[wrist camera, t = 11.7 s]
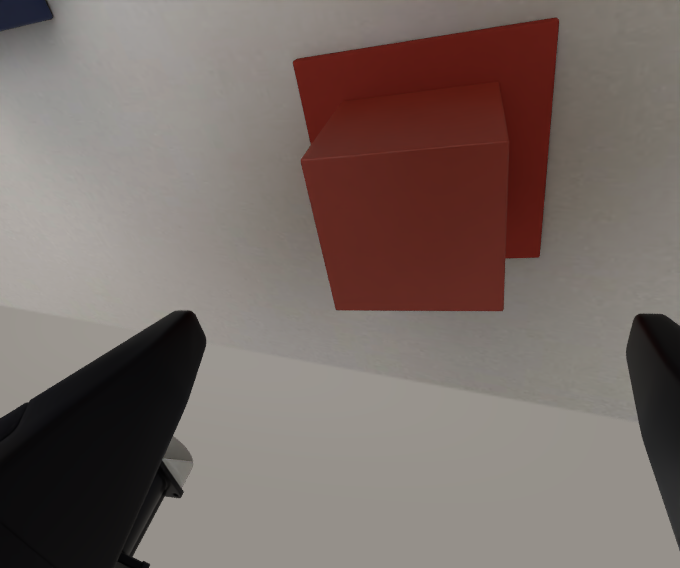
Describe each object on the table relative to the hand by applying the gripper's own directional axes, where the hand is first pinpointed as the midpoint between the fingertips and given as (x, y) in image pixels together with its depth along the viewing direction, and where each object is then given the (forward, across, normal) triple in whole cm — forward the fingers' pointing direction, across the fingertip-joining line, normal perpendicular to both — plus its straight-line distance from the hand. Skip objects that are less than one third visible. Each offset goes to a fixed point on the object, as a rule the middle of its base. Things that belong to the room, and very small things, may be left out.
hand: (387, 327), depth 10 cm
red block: (+9, 0, 0) cm, 9 cm away
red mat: (+9, 0, 0) cm, 9 cm away
